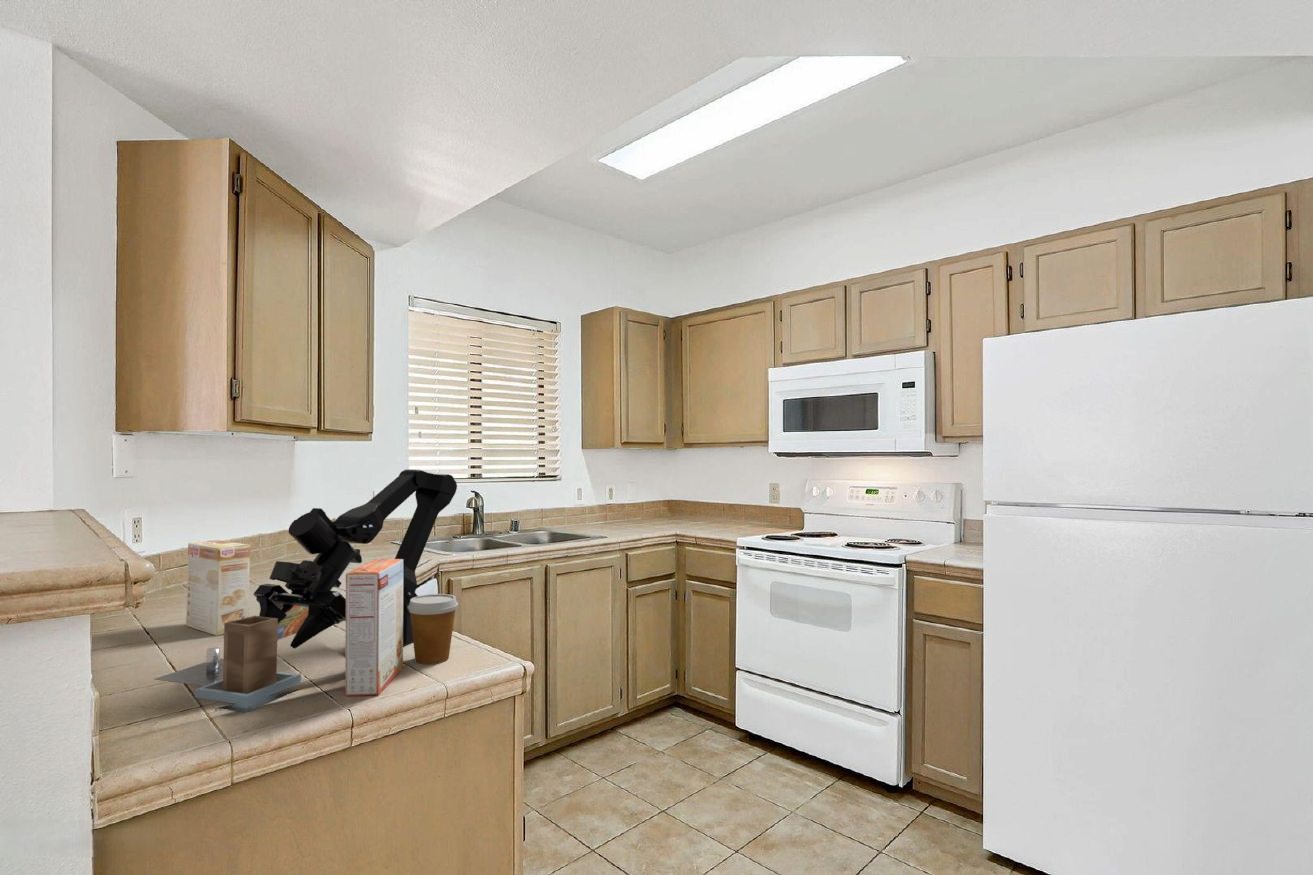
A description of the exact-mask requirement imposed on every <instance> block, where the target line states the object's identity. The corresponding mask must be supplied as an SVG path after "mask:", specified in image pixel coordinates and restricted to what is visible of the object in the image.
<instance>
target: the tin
mask: <svg viewBox="0 0 1313 875" xmlns="http://www.w3.org/2000/svg"><path fill="white" fill-rule="evenodd" d="M308 608H309V607H304V606H296V605H294V606H293V607H292V608H291V610H289V611H288V612H286V613H285V614H286V615H287V616H286V617H285V618H284V619H283V620H282V621H281V622H280V623H279V624H278V632H277V642H278V641H279V640H281V639H284V638H287V637H290V636H293V635H296V633H297V632H298V630H299V629H300V627H301V625H302V624H303V622H304V621H305V619H306V617H307V616H308Z"/></svg>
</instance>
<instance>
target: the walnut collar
mask: <svg viewBox="0 0 1313 875" xmlns="http://www.w3.org/2000/svg"><path fill="white" fill-rule="evenodd" d="M277 632H278V619H277V618H269V617H262V616H259V615H252V616H248V617H247V618H243V619H239V620H235V621H231V622H227V623H224V634H223V659H224V660H223V689H222V691H229V692H236V693H243V694H249V693H251V692H254V691H256V690H259V689H261V688H264V687H266V686H269V685H271V684H274V683H276V682H277V681H276V675H277V672H278V671H277V670H278V668H277V666H278V661H277V660H278V641H277Z"/></svg>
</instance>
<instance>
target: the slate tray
mask: <svg viewBox="0 0 1313 875" xmlns="http://www.w3.org/2000/svg"><path fill="white" fill-rule="evenodd" d="M301 681H302V674H300V673H290V672H283V671H277V675H276V683H274V684H271V685H269V686H266V687H264V688H261V689H259V690H256V691H254V692H251V693H249V694H243V693H236V692H229V691H223V679H222V680H219V681H216V682H213V683H211V684H208V685H205V686H200V687H198V688H195V689H194V698H196V699H202V700H210V701H216V702H222V703H229V704H227V705H223V706H218V707H217V709H219V710H227V711H234V712H240V713H248V712H252V711H253V710H256V709H257V708H260V707H263V706H265V705H267V704H269V703H272V702H274V701H276V699H277V700H279V699H280V698H284V697H285V696H288V695H290V694H293V693H295V692H298V689H296V690H291V691H286V692H281V691H284V690H286V689H289V688H291V687H293V686H295V685H298V684H301ZM279 692H281V693H279ZM277 693H278V694H277ZM287 694H288V695H287ZM278 698H279V699H278ZM230 703H231V704H230Z"/></svg>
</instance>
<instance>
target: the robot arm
mask: <svg viewBox="0 0 1313 875" xmlns="http://www.w3.org/2000/svg"><path fill="white" fill-rule="evenodd" d="M457 485H458V484H457V480H455V477H454V476H453V475H451V474H450V473H449V474H442V473H432V472H427V471H424V470H421V469H404V470H401V472H399V474H398V476H397V477H396V478H395V479H393V480H392V481H391V482H390V483H389V484H387V485H386V486H385V487H384V488H383V489H381V490H380V491H379V492H378V493H377V494H376V495H375V496H373V497H372V498H371V499H370V500H368V502H366V503H365V504H362V505H359V506H357V507H353V508H351V509H349V510H347V511H345V512H344V513H341V514H340V515H339V516H338V517H336V521H333V522H332V521H331V520H332V519H330V518H329V516H328V515H327V513H326V512H325V511H324V510H323V508H321V507H320V508H318V507H316V508H315V507H313V508H311V510H310V511H309V512H307V513H304V514H302V515H301V516H299V517H298V518H296V519H294V520H293V521H292V522H291V524H290V525H289V527H288V534H289V535H290V536H291V537H292V538H293V539H294V540H295V541H296V542H297V543H298V544H299V545H300V546H301V547H302V548H303V549H304V550H305V551H306V552H307V553H308V554H310V555H316V554H317V555H316V556H315V558H314V559H313V560H306V559H304V560H302V561H301V562H300V563H298V562H297V563H294V562H290V561H276V562H275V564H274V566H273V568H272V571H271V573H270V576H269V580H273V581H275V580H276V581H279V582H283V583H285V585H284V587H286V588H287V589H288V590H290V591H291V592H290V593H289V592H288V591H287V590H286V589H284V587H283V586H281V585H280V584H274V583H273V584H271V583H264V584H260V585H259V586H258V587H257V589H256V590H255V591H254V592H253V596H254V597H255V598H256V602H257V603H258V604H259V608H260V610H259V614H258V616H262V617H269V618H277V619H278V624H279V623H280V622H281V621H282V620H283V619H284V618H285V617H286V616H287V615H286V614H285V613H286V612H288V611H289V610H291V608H292V607H293V606H294V605H296V606H304V607H309V608H308V616H307V617H306V619H305V621H304V622H303V624H302V625H301V627H300V629H299V630H298V632H297V633H295V634H294V636H293V639H292V640H291V642H290V648H292V649H297V648H299V647H300V646H302V645H303V644H305V643H306V642H308V641H309V640H310V639H312V638H314V637H315V636H317V635H319V634H320V633H322V632H324V631H325V630H327V629H328V628H330V627H332V626H334V625H338V624H340V623H341V622H346V597H344V595H342V593H341V592H339V591H335V590H333V588H338V589H339V588H340V586H342V582H341V581H340V580H339V579H340V578H341V576H343V573H344V572H345V570H346V569H347V568H348V566H349V565H350V563H353V564H362V562H363V560H362V559H363V558H362V555H361V549H359V548H354V547H353V545H352V544H360V545H361V544H362V545H365V544H366V545H367V544H370V543H372V542H373V541H374V540H375V538H376V537H377V536H378V535H379V533H380V532H381V530H383V528H384V527H383V526H384V522H385V520H386V519H387V517H389V516H390V515H391V514H392V513H393V512H394V511H395V510H396V509H398V507H400V506H401V505H402V504H403V503H404V502H405V501H406V500H407V499H408V498H410V497H411V496H412V495H413V494H415V495H414V496H415V501H416V508H415V511H414V513H413V514H412V518H411V520H410V522H409V525H408V527H407V528H406V531H405V534H404V537H403V539H402V541H401V543H400V545H399V548H398V550H397V553H396V555H395V557H394V559H403V647H404V646H406V645H409V644H411V643H413V635H412V626H411V617H410V612H409V609H408V605H409V603H410V600H411V599H412V598H414V597H417V596H419V595H418V594H417V593H416V591H417V587H418V582H417V577H416V570H417V567H418V564H419V563H420V560H421V559H422V558H421V557H422V555H423V552H424V551H425V548H426V545H427V542H428V540H429V538H430V535H431V533H432V530H433V528H434V525H435V522H436V521H437V518H438V516H439V514H440V512H442V511H443V510H444V509H445V508H446V507H448V506H449V505H450V503H451V502H452V500H453V498H454V496H455V494H456V493H457V489H458V486H457ZM331 589H332V591H331ZM340 621H341V622H340Z"/></svg>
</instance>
